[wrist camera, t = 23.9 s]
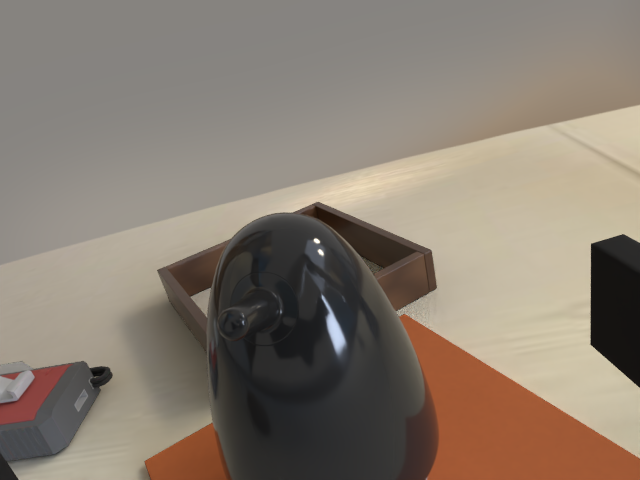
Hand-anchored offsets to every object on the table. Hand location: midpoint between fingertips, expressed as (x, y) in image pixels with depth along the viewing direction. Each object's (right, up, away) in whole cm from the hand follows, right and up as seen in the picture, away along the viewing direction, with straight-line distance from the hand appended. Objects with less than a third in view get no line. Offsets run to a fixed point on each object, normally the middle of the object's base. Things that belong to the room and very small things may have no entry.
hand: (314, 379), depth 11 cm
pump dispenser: (+1, -10, +15) cm, 18 cm away
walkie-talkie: (-25, -11, +27) cm, 38 cm away
